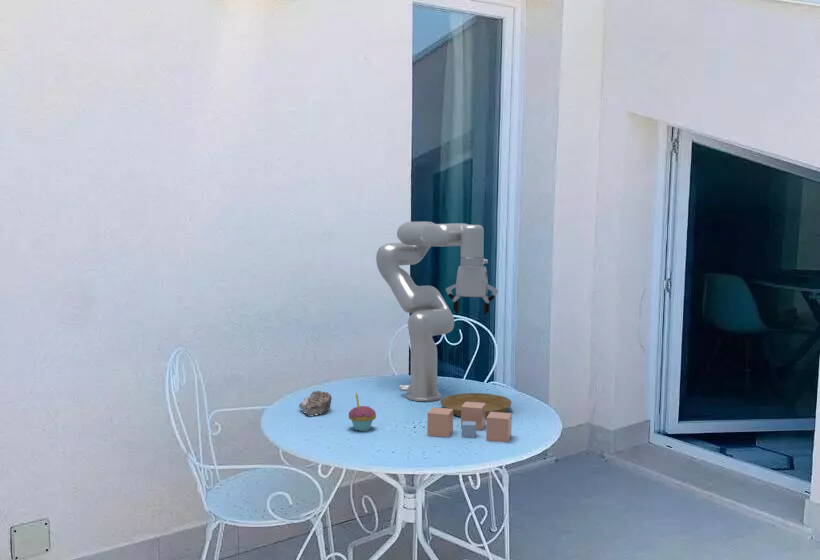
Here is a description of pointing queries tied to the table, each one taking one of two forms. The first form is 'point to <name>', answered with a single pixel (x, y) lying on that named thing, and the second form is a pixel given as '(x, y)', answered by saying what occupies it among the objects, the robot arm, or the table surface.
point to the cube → (468, 429)
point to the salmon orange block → (498, 426)
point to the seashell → (316, 403)
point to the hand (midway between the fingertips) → (471, 314)
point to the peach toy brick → (440, 422)
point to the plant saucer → (492, 401)
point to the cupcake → (362, 416)
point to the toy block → (474, 413)
